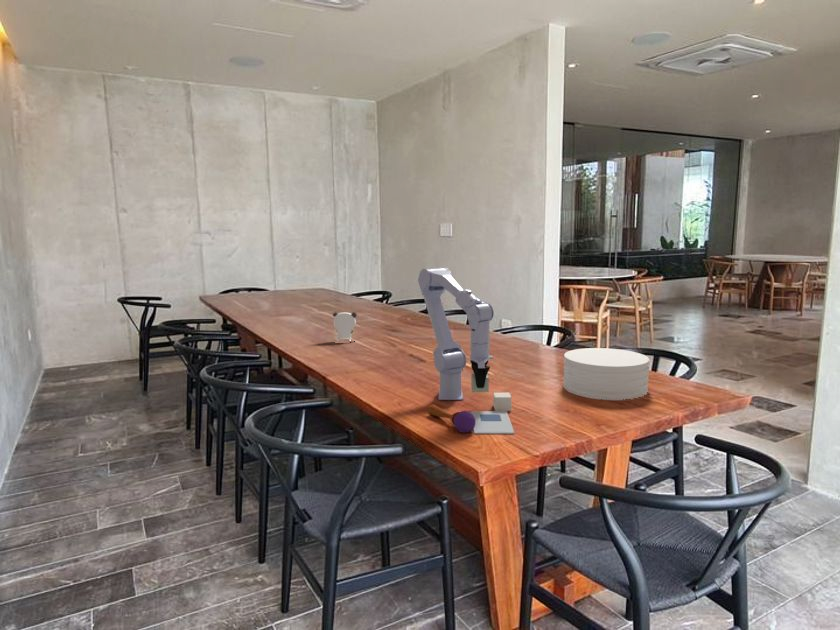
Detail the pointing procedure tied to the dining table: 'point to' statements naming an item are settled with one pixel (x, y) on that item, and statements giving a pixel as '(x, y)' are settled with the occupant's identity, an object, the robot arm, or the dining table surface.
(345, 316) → the panda figurine
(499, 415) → the grey base plate
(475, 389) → the block base
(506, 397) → the block top
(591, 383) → the plate stack
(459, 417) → the kendama
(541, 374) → the dining table surface
